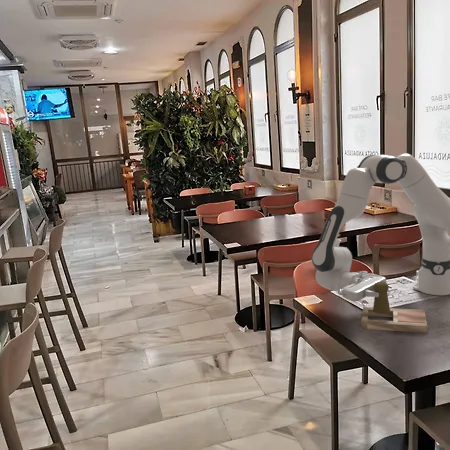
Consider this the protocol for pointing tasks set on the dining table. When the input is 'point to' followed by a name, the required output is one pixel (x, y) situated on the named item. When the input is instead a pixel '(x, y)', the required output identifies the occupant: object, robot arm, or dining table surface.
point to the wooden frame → (396, 320)
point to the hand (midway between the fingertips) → (383, 292)
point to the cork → (381, 298)
